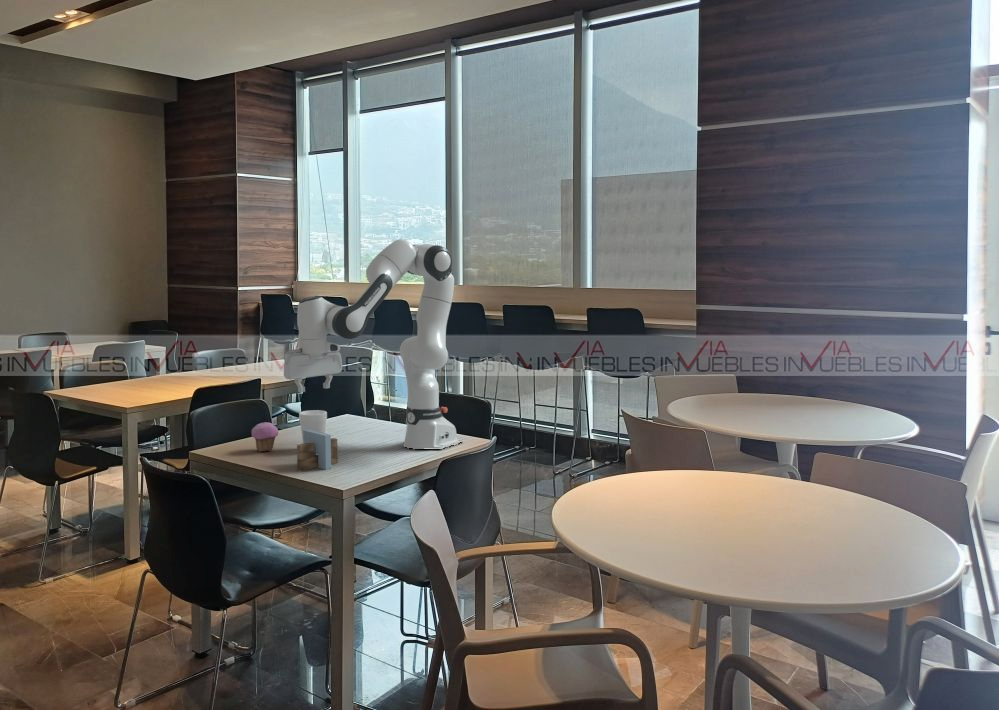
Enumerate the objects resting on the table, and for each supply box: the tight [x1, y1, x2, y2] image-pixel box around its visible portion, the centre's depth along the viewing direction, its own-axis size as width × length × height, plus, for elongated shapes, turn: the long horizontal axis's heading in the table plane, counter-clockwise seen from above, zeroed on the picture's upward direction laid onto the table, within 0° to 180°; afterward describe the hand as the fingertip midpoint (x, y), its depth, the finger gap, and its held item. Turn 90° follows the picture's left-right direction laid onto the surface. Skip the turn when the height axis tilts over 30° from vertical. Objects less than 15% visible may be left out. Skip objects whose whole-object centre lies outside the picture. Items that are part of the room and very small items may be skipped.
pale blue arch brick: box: [302, 429, 332, 471], centre depth 251 cm, size 12×2×11 cm, turn 48°
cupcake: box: [251, 421, 279, 452], centre depth 271 cm, size 9×9×10 cm
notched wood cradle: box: [296, 437, 339, 472], centre depth 251 cm, size 14×2×8 cm, turn 138°
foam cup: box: [298, 409, 328, 439], centre depth 274 cm, size 10×9×13 cm
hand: (314, 390), depth 252 cm, fingers open, 8 cm apart
